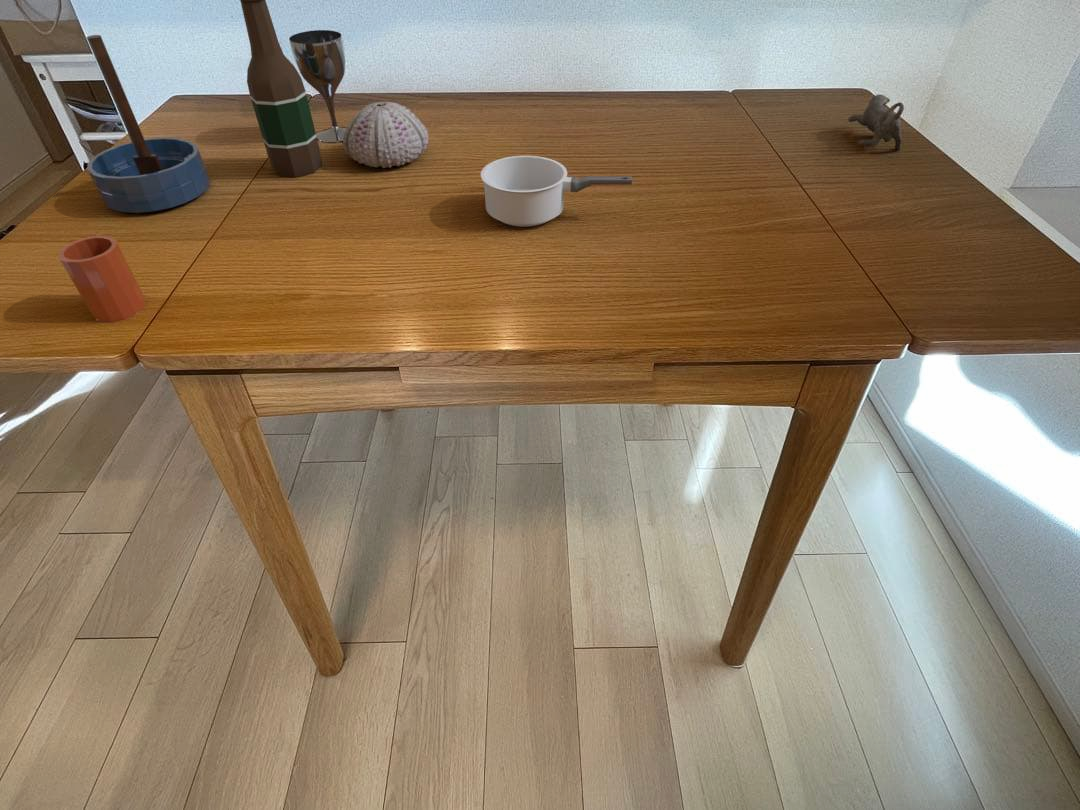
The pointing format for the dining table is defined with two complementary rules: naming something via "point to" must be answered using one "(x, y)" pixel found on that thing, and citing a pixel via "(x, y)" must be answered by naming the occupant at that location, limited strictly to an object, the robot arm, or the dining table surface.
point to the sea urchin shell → (385, 135)
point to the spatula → (124, 108)
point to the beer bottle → (279, 98)
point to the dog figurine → (881, 121)
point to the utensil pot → (103, 278)
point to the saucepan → (532, 189)
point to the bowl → (149, 176)
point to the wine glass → (322, 70)
